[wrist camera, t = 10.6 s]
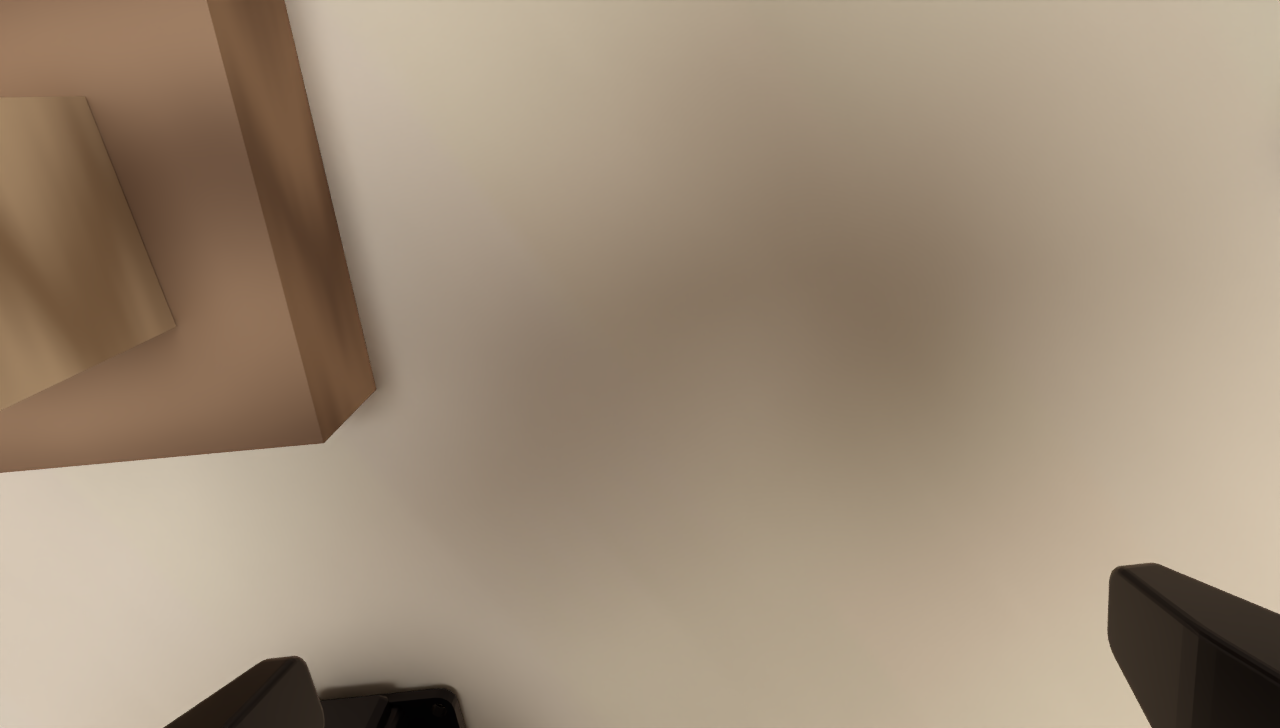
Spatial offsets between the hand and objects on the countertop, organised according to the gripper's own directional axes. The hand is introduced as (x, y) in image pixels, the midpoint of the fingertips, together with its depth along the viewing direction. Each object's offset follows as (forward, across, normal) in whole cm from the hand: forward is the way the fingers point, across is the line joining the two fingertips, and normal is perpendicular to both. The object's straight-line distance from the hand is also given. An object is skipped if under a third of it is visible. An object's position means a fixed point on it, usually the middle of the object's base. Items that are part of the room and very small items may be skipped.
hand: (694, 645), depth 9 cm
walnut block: (+14, +14, -5) cm, 20 cm away
